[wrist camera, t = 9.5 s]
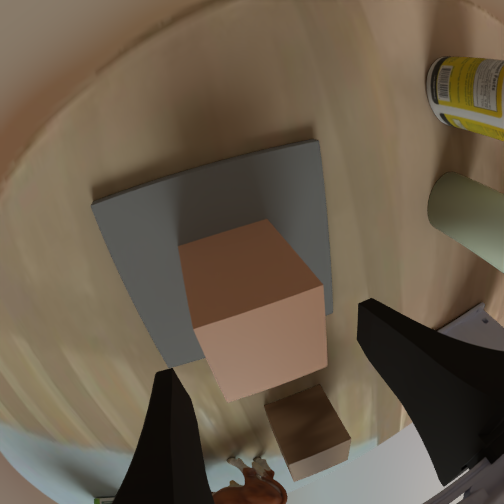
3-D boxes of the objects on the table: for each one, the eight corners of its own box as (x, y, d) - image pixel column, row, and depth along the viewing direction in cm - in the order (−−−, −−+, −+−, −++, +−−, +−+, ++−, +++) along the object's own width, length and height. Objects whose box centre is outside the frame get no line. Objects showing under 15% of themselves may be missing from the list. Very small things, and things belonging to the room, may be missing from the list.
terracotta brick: (266, 218, 16) (323, 284, 10) (280, 290, 18) (327, 366, 13) (177, 246, 15) (193, 329, 10) (203, 315, 17) (227, 402, 12)
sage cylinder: (466, 168, 19) (541, 202, 13) (461, 221, 21) (527, 262, 15) (429, 177, 18) (512, 218, 12) (425, 235, 20) (496, 285, 14)
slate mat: (313, 138, 15) (318, 140, 14) (328, 307, 20) (333, 312, 20) (93, 201, 13) (90, 205, 13) (168, 361, 19) (168, 368, 18)
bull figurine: (151, 478, 27) (162, 542, 20) (264, 443, 28) (291, 511, 21) (172, 488, 29) (184, 546, 22) (275, 455, 30) (300, 515, 23)
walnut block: (319, 383, 25) (351, 438, 20) (321, 411, 27) (347, 459, 22) (263, 405, 24) (288, 464, 19) (272, 430, 27) (294, 481, 21)
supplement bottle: (473, 106, 16) (571, 136, 9) (439, 137, 17) (547, 178, 10) (452, 46, 14) (561, 58, 7) (413, 71, 14) (538, 89, 7)
